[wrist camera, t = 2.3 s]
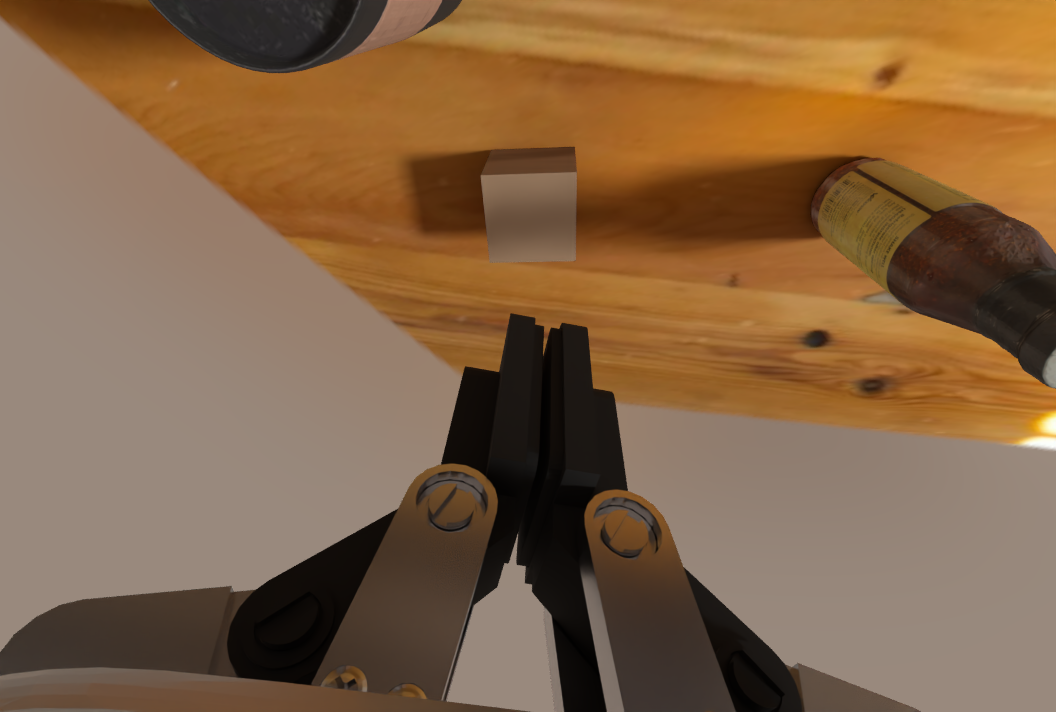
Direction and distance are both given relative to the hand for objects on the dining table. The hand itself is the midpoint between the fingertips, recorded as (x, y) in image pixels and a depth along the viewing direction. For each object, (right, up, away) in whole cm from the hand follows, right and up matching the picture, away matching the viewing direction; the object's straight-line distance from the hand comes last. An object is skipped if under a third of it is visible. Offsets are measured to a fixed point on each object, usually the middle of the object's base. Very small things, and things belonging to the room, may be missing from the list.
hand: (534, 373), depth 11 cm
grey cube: (0, +13, +26) cm, 29 cm away
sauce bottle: (+24, +12, +25) cm, 37 cm away
